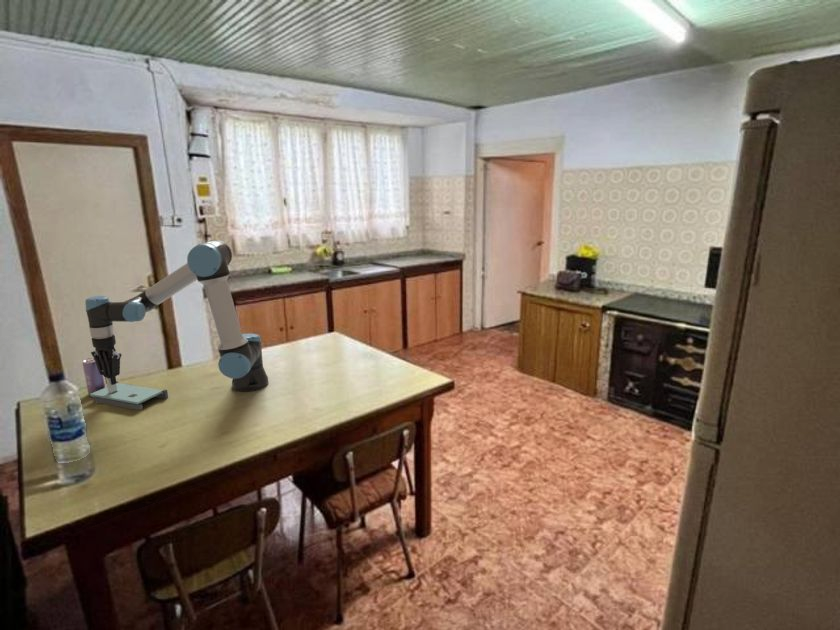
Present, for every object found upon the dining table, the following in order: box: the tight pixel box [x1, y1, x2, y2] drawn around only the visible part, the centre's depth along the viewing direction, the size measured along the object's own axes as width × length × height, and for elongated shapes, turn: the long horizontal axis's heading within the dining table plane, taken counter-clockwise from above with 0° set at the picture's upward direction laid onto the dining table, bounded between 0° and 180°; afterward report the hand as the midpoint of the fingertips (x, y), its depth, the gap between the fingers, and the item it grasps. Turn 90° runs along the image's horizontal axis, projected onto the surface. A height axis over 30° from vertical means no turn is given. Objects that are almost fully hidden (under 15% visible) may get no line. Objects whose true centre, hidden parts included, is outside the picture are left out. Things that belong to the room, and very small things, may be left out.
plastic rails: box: [92, 381, 169, 411], centre depth 185 cm, size 27×12×4 cm, turn 74°
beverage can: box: [82, 357, 106, 396], centre depth 189 cm, size 6×6×15 cm
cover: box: [89, 382, 164, 404], centre depth 185 cm, size 24×13×1 cm, turn 74°
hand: (112, 391), depth 184 cm, fingers closed
